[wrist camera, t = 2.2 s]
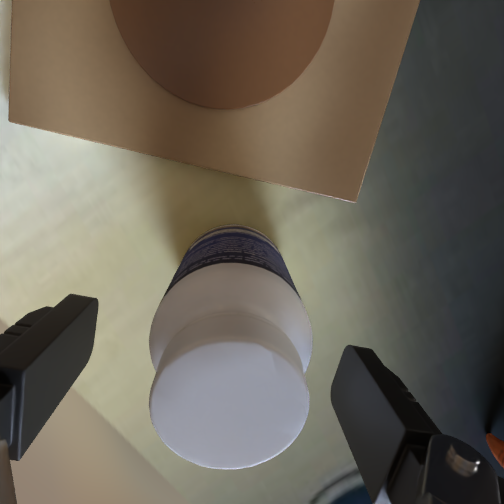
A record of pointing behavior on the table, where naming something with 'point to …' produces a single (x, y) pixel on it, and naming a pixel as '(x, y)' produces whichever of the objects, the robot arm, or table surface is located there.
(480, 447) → the table surface
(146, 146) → the place mat
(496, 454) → the pot
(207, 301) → the pill bottle
